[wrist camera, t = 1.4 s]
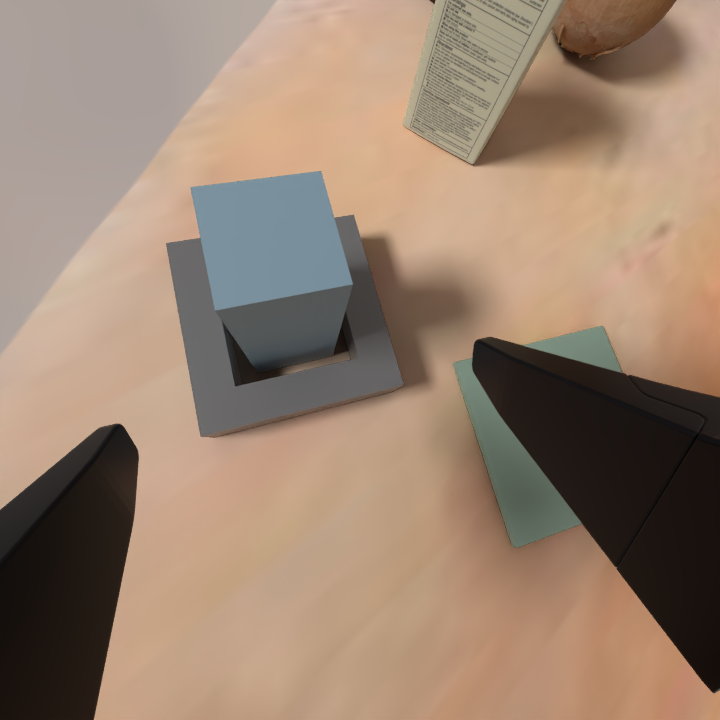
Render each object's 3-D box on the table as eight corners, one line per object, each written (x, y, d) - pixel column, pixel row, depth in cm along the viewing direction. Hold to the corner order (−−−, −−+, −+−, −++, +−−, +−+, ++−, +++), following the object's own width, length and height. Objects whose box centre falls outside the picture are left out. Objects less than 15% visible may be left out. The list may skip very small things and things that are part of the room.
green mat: (663, 489, 23) (671, 490, 22) (511, 545, 21) (516, 548, 20) (596, 327, 25) (602, 325, 24) (452, 363, 23) (456, 362, 22)
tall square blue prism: (332, 355, 22) (352, 284, 12) (257, 372, 21) (215, 310, 11) (315, 288, 23) (320, 171, 13) (242, 302, 22) (190, 187, 12)
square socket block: (393, 391, 22) (403, 384, 19) (213, 437, 20) (200, 436, 17) (348, 238, 24) (353, 214, 21) (181, 265, 22) (165, 243, 19)
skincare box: (494, 130, 28) (633, -104, 16) (472, 168, 26) (603, -53, 15) (423, 87, 28) (509, -180, 16) (397, 124, 26) (468, -134, 15)
